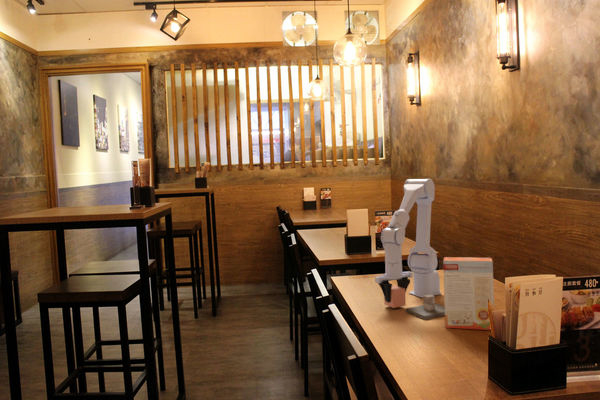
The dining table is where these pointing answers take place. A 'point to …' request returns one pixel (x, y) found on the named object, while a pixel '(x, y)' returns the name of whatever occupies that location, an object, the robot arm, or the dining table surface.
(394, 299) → the peach wooden cube
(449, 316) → the cracker box
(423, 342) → the dining table surface
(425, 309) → the post board
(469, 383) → the dining table surface
